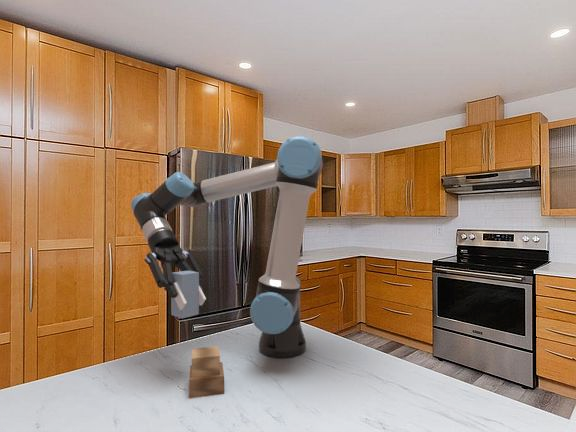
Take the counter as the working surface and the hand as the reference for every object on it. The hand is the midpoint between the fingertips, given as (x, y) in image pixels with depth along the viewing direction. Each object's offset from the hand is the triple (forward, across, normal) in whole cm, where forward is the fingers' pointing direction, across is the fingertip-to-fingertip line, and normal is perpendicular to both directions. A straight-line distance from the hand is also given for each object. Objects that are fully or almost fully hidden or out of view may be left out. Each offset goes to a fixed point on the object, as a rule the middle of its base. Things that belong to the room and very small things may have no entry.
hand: (193, 304), depth 85 cm
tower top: (+14, -1, -8) cm, 16 cm away
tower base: (+17, -1, -11) cm, 21 cm away
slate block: (0, 0, -5) cm, 5 cm away
